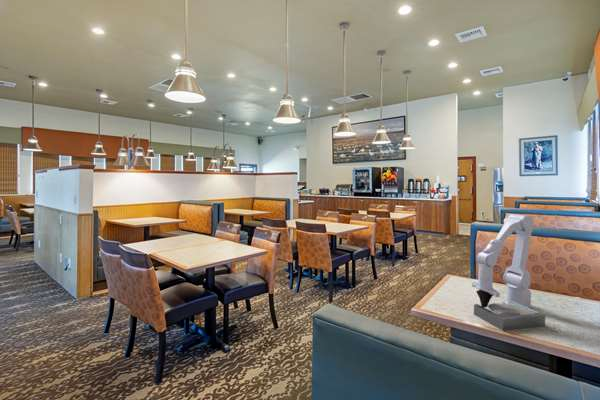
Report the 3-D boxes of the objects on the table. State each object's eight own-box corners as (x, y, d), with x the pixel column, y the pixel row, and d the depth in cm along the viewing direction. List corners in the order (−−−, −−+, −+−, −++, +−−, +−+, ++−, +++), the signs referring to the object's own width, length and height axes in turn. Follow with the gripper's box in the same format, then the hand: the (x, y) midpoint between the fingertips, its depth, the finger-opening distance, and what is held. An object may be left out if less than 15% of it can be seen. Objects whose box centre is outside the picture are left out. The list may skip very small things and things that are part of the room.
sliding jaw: (512, 310, 142) (512, 301, 142) (539, 322, 129) (539, 312, 129) (508, 310, 142) (508, 301, 141) (534, 323, 129) (535, 313, 129)
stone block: (500, 324, 132) (524, 321, 131) (498, 314, 132) (521, 310, 131) (485, 314, 144) (507, 310, 143) (483, 304, 144) (505, 300, 143)
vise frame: (512, 310, 142) (512, 301, 142) (544, 325, 127) (545, 315, 127) (473, 314, 138) (474, 304, 138) (502, 330, 123) (503, 319, 123)
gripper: (466, 273, 148) (465, 301, 149) (490, 283, 134) (489, 314, 135) (479, 273, 150) (478, 300, 151) (504, 282, 136) (503, 312, 136)
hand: (484, 306), depth 143 cm, fingers closed
